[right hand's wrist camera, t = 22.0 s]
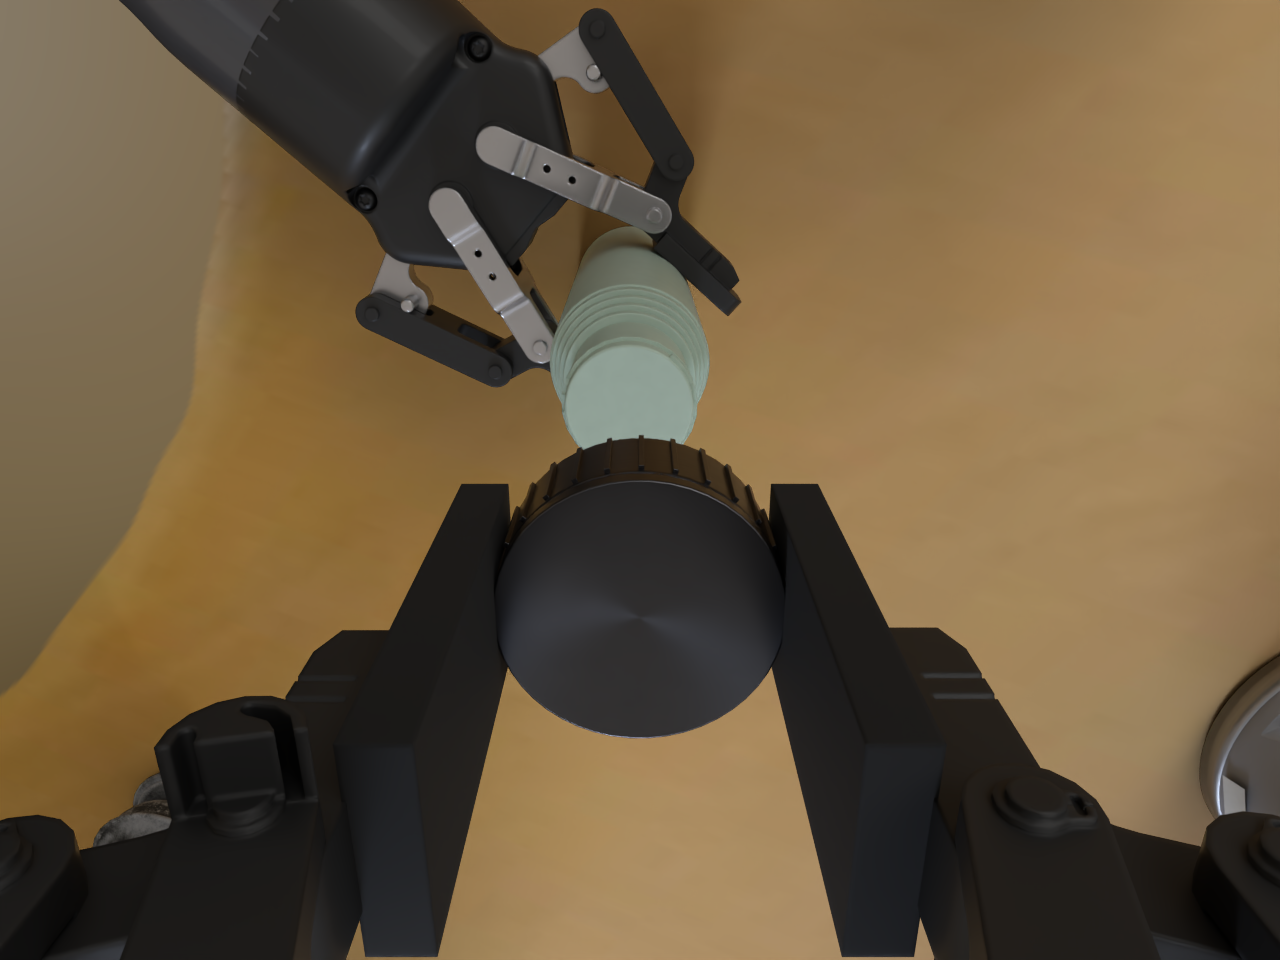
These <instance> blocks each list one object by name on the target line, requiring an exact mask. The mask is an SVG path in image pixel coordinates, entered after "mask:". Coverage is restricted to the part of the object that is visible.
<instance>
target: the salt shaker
mask: <svg viewBox="0 0 1280 960" xmlns="http://www.w3.org/2000/svg"><path fill="white" fill-rule="evenodd" d="M133 805H134V807H132V808H130V809H129V810H127V811H125V812H124V813H122V814H121V815H120V816H119V817H117V818H114V819H112V820H110V821H109V822H108V823H106V824H105V825H104V826H103V827H101V829H100V830H99V832H98V833H97V835H96V837H95V838H94V843H93V847H96V846H101V845H105V844H109V843H114V842H118V841H123V840H127V839H131V838H136V837H140V836H144V835H147V834H151V833H154V832H157V831H161V830H164V829H167V828H169V825H170V823H171V816H170V812H169V808H168V803H167V799H166V795H165V791H164V787H163V783H162V779H161V775H160V773H158V774H155V775H153V776H151V777H149V778H148V779H146V780H145V781H144V782H143V783H141V785H140V786H139V788H138V789H137V791H136V793H135V796H134V801H133Z"/></svg>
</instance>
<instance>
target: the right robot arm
mask: <svg viewBox="0 0 1280 960" xmlns="http://www.w3.org/2000/svg"><path fill="white" fill-rule="evenodd" d="M510 523H511V521H510V504H509V487H508V484H461V486H460V488H459V490H458V492H457V494H456V496H455V498H454V500H453V502H452V504H451V506H450V508H449V511H448V513H447V515H446V517H445V519H444V521H443V523H442V525H441V527H440V529H439V531H438V533H437V535H436V537H435V539H434V541H433V543H432V545H431V547H430V549H429V551H428V553H427V555H426V557H425V559H424V561H423V563H422V565H421V567H420V569H419V571H418V573H417V575H416V577H415V579H414V581H413V583H412V585H411V587H410V589H409V591H408V593H407V595H406V597H405V599H404V601H403V603H402V605H401V607H400V609H399V611H398V613H397V615H396V617H395V619H394V621H393V623H392V625H391V627H390V629H389V630H342V631H341V632H340V633H338V634H337V635H335V636H334V637H333V638H331V639H330V640H329V641H327V642H326V643H325V644H323V645H322V646H321V647H319V648H318V649H317V650H315V651H314V652H313V653H312V655H311V657H310V658H309V660H308V662H307V663H306V665H305V666H304V668H303V670H302V671H301V673H300V674H299V676H298V681H295V683H294V684H293V686H292V687H291V689H290V691H289V692H288V694H287V695H286V700H284V699H281V698H277V697H273V696H244V697H240V698H235V699H231V700H226V701H222V702H217V703H215V704H212V705H210V706H208V707H205V708H203V709H201V710H198V711H196V712H194V713H191V714H189V715H188V716H186V717H185V718H183V719H182V720H181V721H179V722H178V723H176V724H175V725H174V726H172V727H171V728H169V729H168V730H167V731H166V732H165V734H164V735H163V736H162V738H161V739H160V740H159V742H158V743H157V744H156V746H155V747H154V750H155V755H156V759H157V763H158V767H159V771H160V775H161V779H162V783H163V787H164V791H165V795H166V799H167V803H168V808H169V812H170V816H171V823H170V825H169V828H167V829H164V830H161V831H157V832H154V833H151V834H147V835H144V836H140V837H136V838H131V839H127V840H123V841H118V842H114V843H109V844H105V845H101V846H96V847H92V848H87V849H83V850H79V847H78V844H77V841H76V837H75V834H74V831H73V830H72V829H71V828H70V827H69V826H68V825H66V824H65V823H64V822H63V821H62V820H61V819H57V818H51V817H46V816H41V815H32V816H23V817H14V818H7V819H4V820H1V821H0V960H346V957H347V955H348V952H349V949H350V946H351V943H352V940H353V937H354V935H355V932H356V929H357V926H358V923H359V920H360V925H361V931H362V938H363V944H364V951H365V957H438V952H439V948H440V944H441V940H442V936H443V932H444V928H445V924H446V919H447V915H448V911H449V907H450V903H451V899H452V895H453V891H454V887H455V882H456V878H457V874H458V870H459V866H460V862H461V858H462V854H463V849H464V845H465V841H466V837H467V833H468V829H469V825H470V821H471V817H472V812H473V808H474V804H475V800H476V796H477V792H478V788H479V784H480V779H481V775H482V771H483V767H484V763H485V759H486V755H487V751H488V747H489V742H490V738H491V734H492V730H493V726H494V722H495V718H496V714H497V709H498V705H499V701H500V697H501V693H502V689H503V685H504V681H505V676H506V672H507V668H508V666H507V664H506V662H505V660H504V659H503V657H502V654H501V651H500V649H499V646H498V643H497V631H496V617H495V602H494V586H495V581H496V577H497V573H498V568H499V565H500V562H501V559H502V556H503V552H504V549H505V547H503V544H504V541H505V538H506V535H507V532H508V529H509V526H510ZM769 523H770V526H771V529H772V533H773V536H774V539H775V542H776V545H777V548H778V549H777V550H775V553H776V556H777V559H778V562H779V566H780V569H781V572H782V575H783V579H784V584H785V608H784V623H783V637H782V645H781V647H780V650H779V653H778V655H777V658H776V659H775V661H774V663H773V665H772V671H773V675H774V679H775V683H776V687H777V691H778V695H779V699H780V703H781V708H782V712H783V716H784V720H785V724H786V728H787V732H788V736H789V741H790V745H791V749H792V753H793V757H794V761H795V765H796V769H797V774H798V778H799V782H800V786H801V790H802V794H803V798H804V802H805V806H806V811H807V815H808V819H809V823H810V827H811V831H812V835H813V839H814V844H815V848H816V852H817V856H818V860H819V864H820V868H821V872H822V876H823V881H824V885H825V889H826V893H827V897H828V901H829V905H830V909H831V914H832V918H833V922H834V926H835V930H836V934H837V938H838V942H839V947H840V951H841V955H842V957H914V954H915V947H916V941H917V934H918V928H919V921H920V918H921V921H922V923H923V926H924V929H925V932H926V935H927V938H928V940H929V943H930V946H931V949H932V952H933V955H934V960H1280V656H1279V657H1277V658H1275V659H1274V660H1272V661H1271V662H1269V663H1268V664H1267V665H1265V666H1264V667H1263V668H1261V669H1260V670H1259V671H1257V672H1256V673H1255V674H1254V675H1253V676H1251V677H1250V678H1249V679H1248V680H1247V681H1246V682H1245V683H1244V684H1243V685H1242V686H1241V687H1240V688H1239V689H1238V690H1237V691H1236V692H1235V693H1234V694H1233V695H1232V697H1231V698H1230V699H1229V700H1228V701H1227V703H1226V704H1225V705H1224V707H1223V708H1222V710H1221V711H1220V712H1219V714H1218V716H1217V717H1216V719H1215V721H1214V722H1213V724H1212V726H1211V728H1210V731H1209V733H1208V735H1207V738H1206V740H1205V743H1204V746H1203V750H1202V754H1201V760H1200V785H1201V791H1202V794H1203V797H1204V800H1205V803H1206V805H1207V807H1208V809H1209V811H1210V812H1211V814H1212V815H1213V817H1214V818H1215V820H1214V821H1213V822H1212V823H1211V824H1210V825H1208V826H1207V828H1206V832H1205V835H1204V838H1203V842H1202V845H1201V847H1200V846H1195V845H1191V844H1187V843H1182V842H1178V841H1173V840H1169V839H1164V838H1160V837H1156V836H1151V835H1147V834H1142V833H1138V832H1135V831H1131V830H1128V829H1124V828H1121V827H1118V826H1114V825H1112V824H1110V821H1109V819H1108V817H1107V816H1106V814H1105V812H1104V811H1103V809H1102V808H1101V806H1100V805H1099V803H1098V802H1097V800H1096V799H1095V798H1093V797H1092V796H1091V795H1090V794H1089V793H1087V792H1086V791H1085V790H1084V789H1082V788H1081V787H1080V786H1079V785H1077V784H1076V783H1075V782H1073V781H1071V780H1069V779H1067V778H1064V777H1062V776H1060V775H1058V774H1056V773H1054V772H1052V771H1050V770H1047V769H1043V768H1040V766H1039V765H1038V763H1037V762H1036V760H1035V758H1034V757H1033V755H1032V754H1031V752H1030V750H1029V749H1028V747H1027V746H1026V744H1025V742H1024V741H1023V739H1022V738H1021V736H1020V734H1019V733H1018V731H1017V730H1016V728H1015V726H1014V725H1013V723H1012V722H1011V720H1010V718H1009V717H1008V715H1007V714H1006V712H1005V710H1004V709H1003V707H1002V705H1001V704H1000V702H999V701H998V699H995V698H994V693H993V691H992V689H991V688H990V686H989V685H988V683H987V681H986V680H985V678H982V673H981V672H980V670H979V669H978V667H977V665H976V664H975V662H974V661H973V659H972V657H971V656H970V654H969V653H968V651H967V649H966V648H964V647H963V646H962V645H960V644H959V643H958V642H956V641H955V640H953V639H952V638H951V637H949V636H948V635H947V634H945V633H944V632H943V631H941V630H940V629H939V628H889V627H888V625H887V623H886V621H885V619H884V617H883V615H882V613H881V611H880V609H879V607H878V605H877V602H876V600H875V598H874V596H873V594H872V592H871V590H870V588H869V586H868V584H867V582H866V580H865V578H864V576H863V574H862V572H861V570H860V568H859V566H858V564H857V562H856V560H855V558H854V556H853V554H852V552H851V550H850V548H849V546H848V544H847V542H846V540H845V538H844V536H843V534H842V532H841V530H840V528H839V526H838V524H837V522H836V520H835V518H834V516H833V514H832V512H831V510H830V508H829V506H828V504H827V502H826V500H825V498H824V496H823V494H822V492H821V490H820V487H819V485H818V484H771V494H770V511H769Z"/></svg>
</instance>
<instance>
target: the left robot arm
mask: <svg viewBox="0 0 1280 960" xmlns="http://www.w3.org/2000/svg"><path fill="white" fill-rule="evenodd" d="M119 1H120V2H122V3H123V4H124V5H125V6H126V7H127V8H128V9H129V10H130V11H131V12H132V13H133V14H134V15H135V16H136V17H137V18H138V19H139V20H140V21H141V22H142V23H143V24H144V26H145V27H146V28H147V29H148V30H149V31H150V32H151V33H152V34H153V35H154V36H155V38H156V39H157V40H158V41H159V42H160V43H161V44H162V45H163V46H164V47H165V48H166V49H167V50H168V51H169V52H170V53H172V54H173V55H174V56H175V57H176V58H177V59H178V60H179V61H180V62H181V63H183V64H184V65H185V66H186V67H187V68H188V69H189V70H191V71H192V72H193V73H194V74H195V75H196V76H198V77H199V78H200V79H201V80H202V81H204V82H205V83H206V84H207V85H208V86H210V87H211V88H212V89H213V90H214V91H215V92H217V93H218V94H219V95H220V96H221V97H223V98H224V99H225V100H226V101H227V102H229V103H230V104H231V105H232V106H233V107H235V108H236V109H237V110H238V111H240V112H241V113H242V114H243V115H244V116H245V117H247V118H248V119H249V120H250V121H251V122H252V123H254V124H255V125H256V126H257V127H258V128H260V129H261V130H262V131H263V132H264V133H266V134H267V135H268V136H269V137H270V138H271V139H273V140H274V141H275V142H276V143H277V144H279V145H280V146H281V147H282V148H283V149H285V150H286V151H287V152H288V153H289V154H290V155H292V156H293V157H294V158H295V159H296V160H298V161H299V162H300V163H301V164H302V165H304V166H305V167H306V168H307V169H308V170H310V171H311V172H312V173H313V174H314V175H316V176H317V177H318V178H319V179H320V180H321V181H323V182H324V183H325V184H326V185H327V186H329V187H330V188H331V189H332V190H333V191H335V192H336V193H337V194H338V195H339V196H341V197H342V198H343V199H344V200H345V201H346V202H348V203H349V204H350V205H351V206H353V207H354V208H355V209H356V210H358V211H359V212H360V213H361V214H362V215H363V216H364V217H365V218H366V219H367V221H368V222H369V223H370V225H371V227H372V228H373V230H374V232H375V234H376V236H377V239H378V241H379V243H380V245H381V247H382V248H383V250H384V251H385V252H386V254H385V257H384V260H383V262H382V265H381V267H380V270H379V273H378V275H377V278H376V280H375V283H374V286H373V288H372V291H371V293H370V294H369V295H368V296H367V297H365V298H364V299H362V300H361V301H360V302H359V303H358V304H357V307H356V317H357V320H358V322H359V323H360V324H361V325H362V326H363V327H364V328H366V329H368V330H370V331H373V332H375V333H377V334H379V335H381V336H383V337H385V338H388V339H390V340H392V341H394V342H396V343H398V344H400V345H403V346H405V347H407V348H409V349H411V350H413V351H416V352H418V353H420V354H422V355H424V356H426V357H428V358H431V359H433V360H435V361H437V362H439V363H441V364H444V365H446V366H448V367H450V368H452V369H454V370H456V371H459V372H461V373H463V374H465V375H467V376H469V377H472V378H474V379H476V380H478V381H480V382H482V383H484V384H487V385H489V386H491V387H501V386H504V385H505V384H507V383H508V382H509V380H510V379H512V378H513V377H515V376H517V375H519V374H521V373H523V372H525V371H527V370H529V369H532V368H542V369H546V370H548V371H549V372H551V371H550V352H551V346H552V342H553V338H554V335H555V332H556V330H557V327H558V324H559V323H558V322H557V320H556V318H555V317H554V315H553V314H552V312H551V310H550V309H549V307H548V305H547V304H546V302H545V300H544V299H543V297H542V296H541V294H540V292H539V291H538V289H537V287H536V284H535V281H534V279H533V277H532V275H531V273H530V271H529V270H528V268H527V267H526V265H525V263H524V262H523V260H522V258H521V257H520V256H521V255H522V254H523V253H524V252H525V250H526V249H527V248H528V247H529V245H530V244H531V243H532V241H533V239H534V237H535V234H536V232H537V230H538V228H539V226H540V225H541V224H543V223H544V222H546V221H547V220H548V219H550V218H551V217H553V216H554V215H555V214H556V213H557V212H558V210H559V209H560V208H561V207H562V206H563V204H564V203H565V202H566V201H567V200H568V199H570V200H572V201H574V202H577V203H579V204H581V205H583V206H586V207H588V208H590V209H593V210H595V211H599V212H602V213H605V214H607V215H609V216H612V217H614V218H616V219H618V220H621V221H623V222H625V223H627V224H630V225H632V226H634V227H636V228H639V229H641V230H643V231H644V232H645V233H646V234H648V235H649V236H650V237H651V238H652V239H653V240H652V242H653V248H654V249H655V250H656V251H657V252H658V253H659V254H660V255H661V256H662V257H663V258H665V259H666V260H667V261H668V262H669V263H670V264H672V265H673V266H674V267H675V268H676V269H677V270H678V271H679V272H680V273H681V274H682V275H683V276H684V277H685V278H686V279H687V280H688V281H690V282H691V283H692V284H693V285H694V286H695V287H696V288H697V289H698V290H699V291H700V292H702V293H703V294H704V295H705V296H706V297H707V298H708V299H709V300H710V301H711V302H712V303H714V304H715V305H716V306H717V307H718V308H719V309H720V310H721V311H722V312H723V313H725V314H726V315H727V316H729V315H730V314H731V313H732V312H733V311H734V309H735V308H736V307H737V306H738V305H739V304H740V303H741V300H740V298H739V297H738V295H737V294H736V293H735V292H734V291H733V290H732V288H733V287H734V286H735V285H736V284H737V283H738V282H739V279H738V276H737V274H736V272H735V270H734V267H733V266H732V264H731V263H730V261H729V260H728V259H727V258H726V257H725V256H723V255H722V254H721V253H720V252H719V251H718V250H717V249H716V248H715V247H714V246H713V245H712V244H711V243H710V242H709V241H708V240H706V239H705V238H704V237H703V236H702V235H701V234H700V233H699V232H698V231H697V230H696V229H695V228H694V227H693V226H692V225H691V224H689V223H688V222H687V221H686V220H685V219H684V218H683V217H682V216H681V214H680V212H679V208H678V201H679V197H680V194H681V192H682V189H683V187H684V184H685V182H686V179H687V176H688V175H689V174H690V173H691V171H692V169H693V166H694V157H693V154H692V152H691V150H690V149H689V147H688V145H687V144H686V142H685V140H684V138H683V137H682V135H681V133H680V132H679V130H678V128H677V126H676V125H675V123H674V121H673V120H672V118H671V116H670V115H669V113H668V111H667V109H666V108H665V106H664V104H663V103H662V101H661V99H660V97H659V96H658V94H657V92H656V91H655V89H654V87H653V85H652V84H651V82H650V80H649V79H648V77H647V75H646V74H645V72H644V70H643V68H642V67H641V65H640V63H639V62H638V60H637V58H636V56H635V55H634V53H633V51H632V50H631V48H630V46H629V44H628V43H627V41H626V39H625V38H624V36H623V34H622V33H621V31H620V29H619V27H618V26H617V24H616V22H615V21H614V19H613V17H612V16H611V15H610V14H609V13H608V12H607V11H605V10H603V9H599V8H595V9H591V10H589V11H587V12H586V13H585V14H584V15H583V16H582V18H581V20H580V23H579V26H578V27H576V28H575V29H574V30H572V31H571V32H570V33H568V34H567V35H566V36H564V37H563V38H561V39H560V40H559V41H557V42H556V43H555V44H553V45H552V46H551V47H549V48H548V49H546V50H545V51H544V52H542V53H541V54H540V55H538V56H537V55H535V54H534V53H532V52H530V51H527V50H522V49H518V48H514V47H511V46H509V45H507V44H505V43H503V42H502V41H501V40H499V39H498V38H497V37H496V36H495V35H494V34H493V33H492V32H491V31H489V30H488V29H487V28H486V27H485V26H484V25H483V24H482V23H481V22H480V21H479V20H478V19H477V18H476V17H475V16H474V15H472V14H471V13H470V12H469V11H468V10H467V9H466V8H465V7H464V6H463V5H462V4H461V3H460V2H459V1H458V0H119ZM562 78H571V79H574V80H576V81H577V82H578V83H579V84H580V86H581V87H582V88H583V89H584V90H586V91H588V92H590V93H593V94H598V93H602V92H604V91H606V90H607V89H608V88H611V90H612V92H613V93H614V95H615V97H616V98H617V100H618V102H619V103H620V105H621V107H622V108H623V110H624V112H625V113H626V115H627V117H628V118H629V120H630V122H631V123H632V125H633V127H634V128H635V130H636V132H637V133H638V135H639V137H640V138H641V140H642V142H643V143H644V145H645V147H646V148H647V150H648V152H649V153H650V155H651V157H652V158H653V160H654V163H653V165H652V168H651V171H650V173H649V176H648V179H647V181H646V184H645V186H642V185H640V184H637V183H635V182H633V181H631V180H629V179H626V178H624V177H622V176H620V175H618V174H616V173H614V172H612V171H610V170H608V169H606V168H604V167H602V166H600V165H598V164H595V163H593V162H591V161H589V160H587V159H584V158H582V157H580V156H578V155H576V154H573V153H572V149H571V145H570V140H569V136H568V132H567V128H566V123H565V119H564V115H563V110H562V106H561V102H560V97H559V93H558V89H557V84H556V81H558V80H560V79H562ZM414 265H424V266H434V267H443V268H453V269H463V270H469V272H470V273H471V275H472V277H473V278H474V280H475V281H476V283H477V284H478V286H479V288H480V289H481V291H482V292H483V294H484V296H485V297H486V299H487V300H488V302H489V303H490V305H491V306H492V308H493V309H494V310H495V312H496V313H498V314H499V315H500V316H501V317H502V318H503V320H504V321H505V323H506V324H507V326H508V327H509V329H510V331H511V332H512V334H513V335H512V336H510V337H508V338H506V339H504V338H501V337H499V336H497V335H495V334H493V333H491V332H489V331H487V330H485V329H483V328H480V327H478V326H476V325H474V324H472V323H470V322H468V321H466V320H464V319H462V318H459V317H457V316H455V315H453V314H451V313H449V312H447V311H445V310H443V309H441V308H438V307H436V306H434V305H432V304H433V294H432V291H431V289H430V288H429V287H428V286H427V285H426V284H424V283H423V282H421V281H420V280H419V279H418V277H417V276H416V273H415V270H414ZM491 274H492V276H493V277H494V278H493V277H492V276H491Z"/></svg>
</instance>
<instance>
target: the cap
mask: <svg viewBox="0 0 1280 960" xmlns="http://www.w3.org/2000/svg"><path fill="white" fill-rule="evenodd" d="M503 547H505V549H504V552H503V556H502V559H501V562H500V565H499V568H498V573H497V577H496V581H495V586H494V602H495V617H496V631H497V643H498V646H499V649H500V651H501V654H502V657H503V659H504V660H505V662H506V664H507V666H508V668H509V670H510V671H511V673H512V674H513V676H514V677H515V678H516V680H517V681H518V682H519V684H520V685H521V686H522V687H523V689H524V690H525V691H526V692H527V693H528V694H529V695H530V696H531V697H532V698H533V699H534V700H536V701H537V702H538V703H539V704H541V705H542V706H543V707H544V708H545V709H547V710H548V711H550V712H552V713H553V714H555V715H556V716H558V717H560V718H561V719H563V720H565V721H567V722H569V723H572V724H574V725H576V726H578V727H581V728H584V729H587V730H590V731H593V732H596V733H600V734H605V735H609V736H615V737H624V738H655V737H664V736H670V735H675V734H679V733H684V732H687V731H690V730H693V729H696V728H699V727H702V726H704V725H706V724H708V723H710V722H712V721H714V720H716V719H718V718H720V717H722V716H723V715H725V714H726V713H728V712H730V711H731V710H733V709H734V708H735V707H736V706H738V705H739V704H740V703H741V702H743V701H744V700H745V699H746V698H747V697H748V696H749V695H750V694H751V693H752V692H753V691H754V690H755V689H756V688H757V687H758V686H759V684H760V683H761V682H762V680H763V679H764V678H765V676H766V675H767V674H768V672H769V670H770V668H771V667H772V665H773V663H774V661H775V659H776V658H777V655H778V653H779V650H780V647H781V645H782V637H783V623H784V608H785V584H784V579H783V575H782V572H781V569H780V566H779V562H778V559H777V556H776V553H775V550H777V549H778V548H777V545H776V542H775V539H774V536H773V533H772V529H771V526H770V523H769V520H768V517H767V514H766V511H765V509H762V510H761V509H760V508H759V506H758V504H757V502H756V501H755V498H754V495H753V491H752V488H751V487H750V485H749V484H748V485H747V486H745V485H744V484H743V482H742V481H741V480H740V479H739V478H738V477H737V476H736V475H734V474H733V473H732V469H731V466H729V465H728V464H726V465H725V466H724V465H722V464H721V463H720V462H718V461H717V460H715V459H714V458H712V457H710V456H708V455H706V453H705V450H704V449H702V448H700V450H699V451H698V450H696V449H693V448H691V447H688V446H686V445H683V444H679V443H676V440H675V439H672V438H670V441H667V440H659V439H651V438H644V435H639V438H629V439H619V440H612V438H608V439H607V442H605V443H601V444H597V445H594V446H591V447H589V448H586V449H584V450H583V448H582V447H580V448H578V449H577V453H575V454H573V455H571V456H570V457H568V458H566V459H564V460H563V461H561V462H560V463H558V464H556V463H555V462H554V463H553V464H551V467H550V470H549V471H548V472H547V473H546V474H545V475H544V476H543V477H542V478H541V479H540V480H539V481H538V482H537V483H536V484H535V483H533V482H532V484H531V485H530V487H529V490H528V493H527V496H526V498H525V500H524V501H523V503H522V505H521V507H518V506H516V508H515V510H514V513H513V517H512V520H511V523H510V526H509V529H508V532H507V535H506V538H505V541H504V544H503Z"/></svg>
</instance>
